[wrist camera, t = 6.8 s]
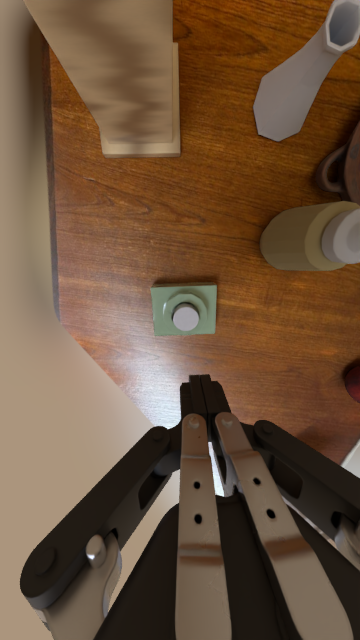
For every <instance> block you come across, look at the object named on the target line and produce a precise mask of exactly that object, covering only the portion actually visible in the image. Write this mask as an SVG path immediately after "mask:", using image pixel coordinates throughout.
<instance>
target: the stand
mask: <svg viewBox="0 0 360 640" xmlns="http://www.w3.org/2000/svg"><path fill="white" fill-rule="evenodd" d="M23 2H24V3H25V5H26V7H27V8H28V10H29V12H30V13H31V15H32V17H33V18H34V20H35V22H36V23H37V25H38V27H39V28H40V30H41V32H42V33H43V35H44V37H45V38H46V40H47V42H48V43H49V45H50V47H51V48H52V50H53V51H54V53H55V55H56V56H57V58H58V60H59V61H60V63H61V65H62V66H63V68H64V70H65V71H66V73H67V75H68V76H69V78H70V80H71V81H72V83H73V85H74V86H75V88H76V90H77V91H78V93H79V95H80V96H81V98H82V100H83V101H84V103H85V104H86V106H87V108H88V109H89V111H90V113H91V114H92V116H93V118H94V119H95V121H96V123H97V124H98V126H99V130H100V138H101V145H102V153H103V155H104V156H105V158H136V157H180V113H179V67H178V43H173V0H23Z"/></svg>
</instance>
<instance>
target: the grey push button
mask: <svg viewBox="0 0 360 640" xmlns="http://www.w3.org/2000/svg"><path fill="white" fill-rule="evenodd" d="M198 320H199V317H198V314H197V311H196V309H195V307H194V306H192V305H191V304H188V303H183V304H180V305H178V306H177V307H176V308H175V310H174V312H173V322H174V324H175V326H176V327H177V328H178V329H180V330H182V331H189V330H192V329H193V328H195V327H196V325H197V324H198Z"/></svg>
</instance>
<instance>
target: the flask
mask: <svg viewBox="0 0 360 640" xmlns="http://www.w3.org/2000/svg"><path fill="white" fill-rule="evenodd" d="M359 35H360V0H335V1H334V2H333V3H332V4H331V7H330V9H329V12H328V14H327V17H326V20H325V22H324V23H323V25H322V26H321V28H320V29H319V31H318V32H317V33H316V34H315V35H314V36H313V37H312V38H311V40H310V41H309V42H308V43H307V44H306V45H305V46H304V47H303V48H302V49H301V50H299V51H298V52H297V53H295V54H294V55H293V56H291V57H290V58H289V59H287V60H286V61H285V62H283V63H282V64H281V65H279V66H278V67H276V68H275V69H273V70H272V71H270V72H269V73H267V74H266V75H265V76H263V77H262V80H261V83H260V86H259V89H258V93H257V96H256V99H255V103H254V106H253V109H254V114H255V119H256V124H257V129H258V134H259V135H262V136H265V137H267V138H270V139H272V140H275V141H281V140H283V139H285V138H287V137H289V136H291V135H294V134H296V133H298V132H299V131H300V129H301V127H302V125H303V123H304V120H305V118H306V116H307V114H308V111H309V109H310V107H311V105H312V103H313V100H314V98H315V96H316V94H317V92H318V90H319V88H320V86H321V84H322V82H323V80H324V78H325V77H326V75H327V74H328V72H329V71H330V69H331V68H332V66H333V64H334V63H335V62H336V60H337V59H338V58H339V57H340V56H341V55H342V53H343V52H345V51H347V50H349V49H351V48H352V47H354V46H355V44H356V43H357V40H358V38H359Z"/></svg>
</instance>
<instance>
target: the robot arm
mask: <svg viewBox="0 0 360 640" xmlns="http://www.w3.org/2000/svg"><path fill="white" fill-rule="evenodd" d="M180 405H181V421H180V422H179V424H178V425H176V426H175V427H173V428H170V429H167V428H165V427H163V426H156V427H153V428H151V429H150V430H149V431H148V432H147V433H146V434H145V435H144V436H143V437H142V438H141V439H140V440H139V441H138V442H137V443H136V444H135V445H134V446H133V447H132V448H131V449H130V450H129V451H128V452H127V453H126V454H125V456H123V458H122V459H121V460H120V461H119V462H118V463H117V464H116V465H115V466H114V467H113V468H112V469H111V470H110V471H109V472H108V473H107V474H106V475H105V476H104V477H103V478H102V479H101V480H100V481H99V482H98V483H97V484H96V485H95V486H94V487H93V488H92V490H91V491H90V492H89V493H88V494H87V495H86V496H85V497H84V498H83V499H82V500H81V501H80V502H79V503H78V504H77V505H76V506H75V507H74V508H73V509H72V510H71V511H70V512H69V513H68V515H66V516H65V518H63V520H62V521H61V522H60V523H59V524H58V525H57V526H56V527H55V528H54V529H53V530H52V531H51V532H50V533H49V534H48V535H47V536H46V537H45V538H44V539H43V540H42V541H41V542H40V543H39V544H38V545H37V547H36V548H35V549H34V550H33V551H32V553H31V554H30V556H29V557H28V559H27V561H26V563H25V565H24V567H23V570H22V573H21V578H20V589H21V591H22V593H23V595H24V596H25V597H26V599H27V600H28V602H29V603H30V605H31V606H32V607H33V609H34V610H35V612H36V613H37V615H38V616H39V618H40V619H41V620H42V622H43V623H44V625H45V626H46V627H47V629H48V630H49V631H51V633H52V636H53V638H54V640H360V478H358V477H356V476H355V475H353V474H352V473H350V472H349V471H347V470H346V469H344V468H343V467H341V466H340V465H338V464H336V463H335V462H333V461H332V460H330V459H329V458H327V457H325V456H324V455H322V454H321V453H319V452H318V451H316V450H314V449H313V448H311V447H310V446H308V445H307V444H305V443H303V442H302V441H300V440H299V439H297V438H296V437H294V436H292V435H291V434H289V433H288V432H286V431H285V430H283V429H281V428H280V427H278V426H277V425H275V424H274V423H272V422H270V421H267V420H259V421H257V422H256V423H255V424H254V426H253V425H248V424H244V423H241V422H239V420H238V418H237V417H236V416H235V415H233V414H232V413H231V410H230V407H229V405H228V402H227V399H226V397H225V394H224V391H223V388H222V386H221V385H220V384H219V383H218V382H217V381H211V378H210V375H209V374H206V375H189V382H187V383H182V385H181V387H180ZM208 442H212V446H213V450H214V457H215V461H216V465H217V468H218V472H219V475H220V479H221V482H222V486H223V490H224V497H223V496H219V495H215V489H214V480H213V471H212V463H211V456H210V455H209V446H208ZM179 469H180V496H179V503H178V504H176V505H175V506H173V507H172V508H171V509H170V510H169V511H168V512H167V513H166V514H165V515H164V517H163V518H162V520H161V521H160V523H159V524H158V526H157V528H156V530H155V531H154V533H153V535H152V537H151V539H150V540H149V542H148V544H147V546H146V547H145V549H144V551H143V553H142V555H141V556H140V558H139V560H138V561H137V563H136V565H135V567H134V568H133V570H132V572H131V574H130V575H129V577H128V579H127V581H126V582H125V584H124V586H123V588H122V589H121V591H120V593H119V595H118V597H117V598H116V600H115V602H114V604H113V605H112V607H111V609H110V610H109V612H108V607H109V602H110V598H111V595H112V593H113V590H114V588H115V586H116V584H117V582H118V580H119V577H120V574H121V569H122V558H121V553H120V551H121V549H122V548H123V547H124V545H125V544H126V542H127V541H128V539H129V538H130V536H131V535H132V533H133V532H134V530H135V529H136V527H137V526H138V524H139V523H140V521H141V520H142V519H143V517H144V516H145V514H146V513H147V511H148V510H149V508H150V507H151V505H152V504H153V503H154V501H155V500H156V498H157V497H158V495H159V494H160V492H161V491H162V489H163V488H164V486H165V485H166V483H167V482H168V480H169V479H170V477H171V475H172V472H174V471H176V470H179ZM281 495H282V496H283V497H284V498H285V499H286V500H287V501H288V502H289V503H291V504H292V505H293V506H294V507H295V508H296V509H297V510H299V511H300V512H301V513H302V514H303V515H304V516H305V517H307V518H308V519H309V520H310V521H311V522H312V523H313V524H314V525H316V526H317V527H318V528H319V529H320V530H321V531H322V532H324V533H325V534H326V535H327V536H328V537H329V538H330V539H332V540H333V541H334V542H335V544H336V547H337V549H338V550H337V549H336V548H335V547H334V546H333V545H332V544H330V543H329V542H328V541H327V540H326V539H325V538H324V537H323V536H322V535H321V534H320V533H319V532H318V531H317V530H315V529H314V528H313V527H312V526H311V525H310V524H309V523H308V522H307V521H306V520H305V519H304V518H303V517H302V516H300V515H299V514H298V513H297V512H296V511H295V510H294V509H293V508H291V507H290V506H289V505H287V504H286V503H285V502H284V500H283V498H282V496H281Z"/></svg>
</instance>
